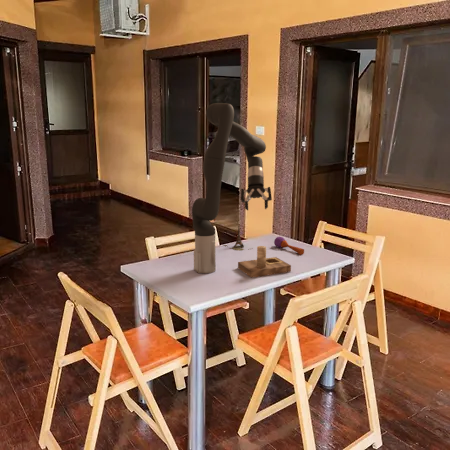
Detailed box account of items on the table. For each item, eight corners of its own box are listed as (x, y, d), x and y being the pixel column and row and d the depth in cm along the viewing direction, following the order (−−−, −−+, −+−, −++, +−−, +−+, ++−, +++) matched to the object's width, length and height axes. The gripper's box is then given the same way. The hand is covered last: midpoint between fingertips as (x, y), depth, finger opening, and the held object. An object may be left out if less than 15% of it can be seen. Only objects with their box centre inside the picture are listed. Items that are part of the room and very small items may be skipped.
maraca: (297, 248, 240) (271, 237, 256) (297, 259, 243) (272, 247, 258) (305, 244, 243) (279, 233, 259) (306, 255, 246) (280, 243, 261)
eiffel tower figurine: (222, 246, 260) (222, 222, 257) (236, 243, 266) (237, 220, 263) (238, 252, 249) (238, 227, 246) (253, 249, 254) (254, 225, 251)
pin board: (251, 277, 210) (251, 270, 209) (237, 268, 222) (238, 261, 221) (290, 271, 217) (291, 265, 216) (275, 263, 230) (276, 256, 229)
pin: (259, 268, 213) (259, 248, 211) (255, 265, 216) (255, 246, 214) (267, 267, 214) (267, 247, 212) (263, 264, 218) (263, 245, 216)
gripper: (239, 175, 225) (240, 207, 219) (270, 173, 222) (271, 204, 217) (241, 182, 232) (242, 213, 226) (271, 180, 229) (272, 211, 223)
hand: (256, 209), depth 221 cm, fingers open, 8 cm apart
